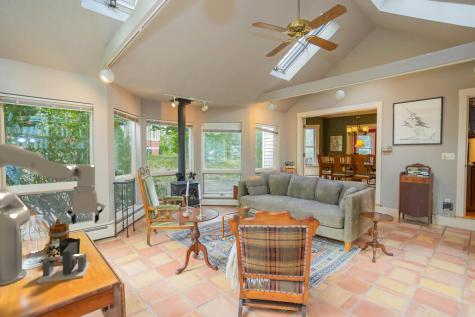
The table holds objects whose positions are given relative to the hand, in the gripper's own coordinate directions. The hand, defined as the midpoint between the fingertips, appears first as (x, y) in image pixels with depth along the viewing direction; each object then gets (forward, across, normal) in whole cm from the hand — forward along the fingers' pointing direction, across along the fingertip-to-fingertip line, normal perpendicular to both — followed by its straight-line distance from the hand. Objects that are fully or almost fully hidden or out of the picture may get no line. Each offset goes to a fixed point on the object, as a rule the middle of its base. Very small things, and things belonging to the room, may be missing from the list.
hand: (85, 222), depth 118 cm
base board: (+24, -8, -2) cm, 25 cm away
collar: (+22, -6, -2) cm, 23 cm away
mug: (+25, -23, +37) cm, 50 cm away
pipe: (+24, -8, -2) cm, 25 cm away
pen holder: (+24, -11, +15) cm, 31 cm away
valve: (+25, -21, +24) cm, 41 cm away
